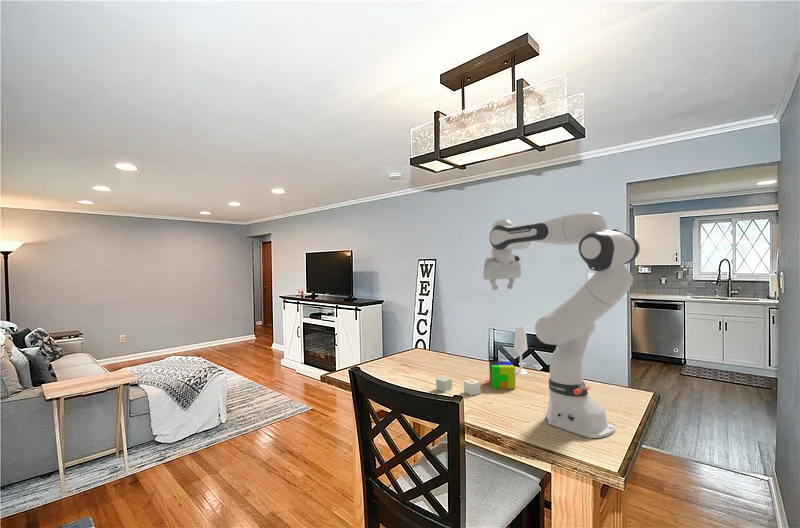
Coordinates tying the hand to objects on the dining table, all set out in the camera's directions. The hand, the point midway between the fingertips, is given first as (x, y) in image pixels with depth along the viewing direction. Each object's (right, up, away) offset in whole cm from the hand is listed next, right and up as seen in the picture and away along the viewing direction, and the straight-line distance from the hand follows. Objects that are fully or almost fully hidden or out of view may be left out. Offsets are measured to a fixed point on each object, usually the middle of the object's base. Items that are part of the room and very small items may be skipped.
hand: (502, 289), depth 161 cm
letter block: (-13, -46, +2) cm, 48 cm away
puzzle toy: (+3, -46, +12) cm, 48 cm away
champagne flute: (+18, -46, +31) cm, 59 cm away
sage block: (-25, -47, +7) cm, 53 cm away
